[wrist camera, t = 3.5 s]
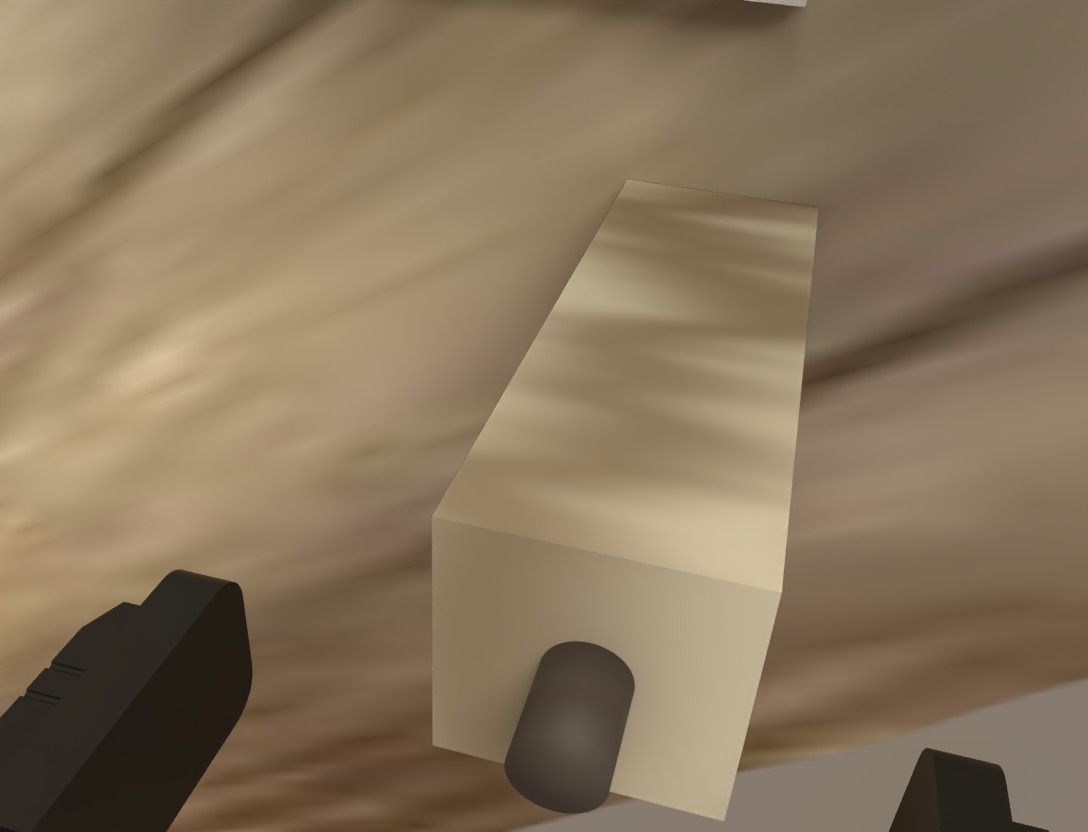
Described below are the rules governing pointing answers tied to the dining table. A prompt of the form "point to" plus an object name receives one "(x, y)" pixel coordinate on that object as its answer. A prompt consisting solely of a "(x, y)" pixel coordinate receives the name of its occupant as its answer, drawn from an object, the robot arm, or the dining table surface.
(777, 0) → the stand
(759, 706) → the dining table surface
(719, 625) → the beige long rectangular block
